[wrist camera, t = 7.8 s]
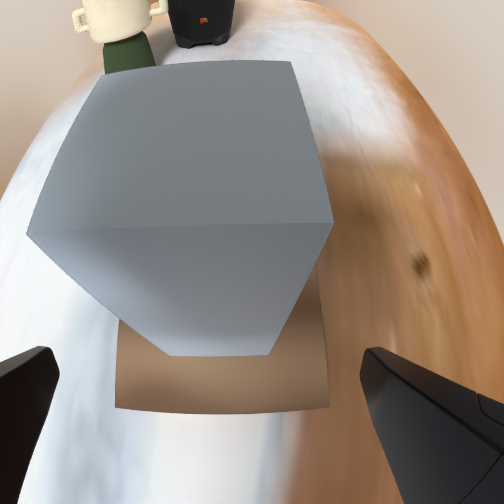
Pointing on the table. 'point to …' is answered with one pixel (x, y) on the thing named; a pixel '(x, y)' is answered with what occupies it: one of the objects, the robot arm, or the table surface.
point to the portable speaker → (200, 21)
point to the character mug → (120, 30)
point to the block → (190, 203)
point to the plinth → (230, 371)
